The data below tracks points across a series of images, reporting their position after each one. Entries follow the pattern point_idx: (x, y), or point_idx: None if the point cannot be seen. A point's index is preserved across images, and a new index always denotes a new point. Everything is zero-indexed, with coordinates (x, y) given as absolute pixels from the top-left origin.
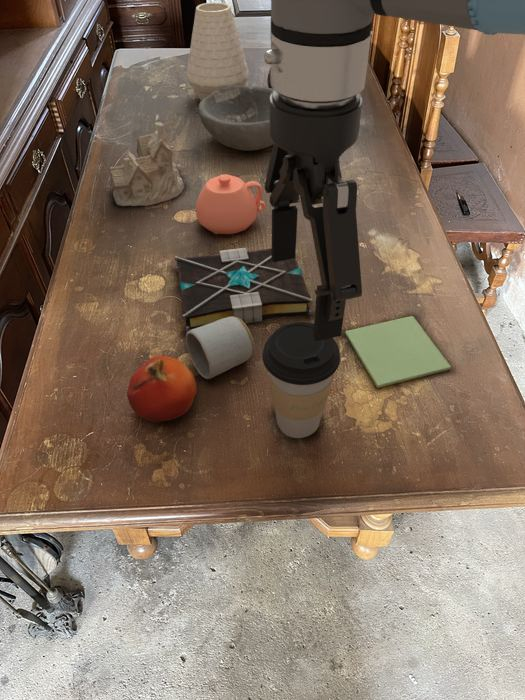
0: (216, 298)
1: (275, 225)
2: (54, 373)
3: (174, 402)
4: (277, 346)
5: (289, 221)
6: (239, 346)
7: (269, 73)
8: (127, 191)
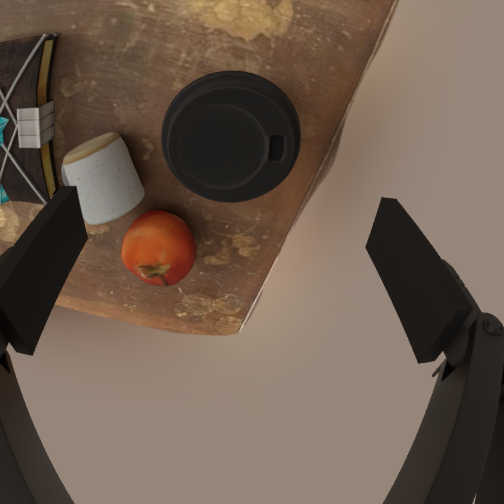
0: (21, 163)
1: (45, 316)
2: (107, 304)
3: (191, 251)
4: (218, 187)
5: (26, 287)
6: (117, 162)
7: None
8: None
